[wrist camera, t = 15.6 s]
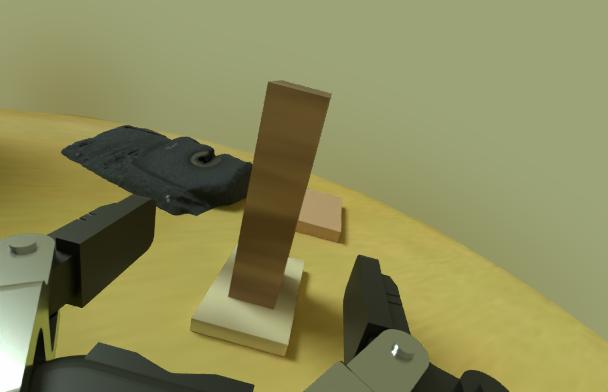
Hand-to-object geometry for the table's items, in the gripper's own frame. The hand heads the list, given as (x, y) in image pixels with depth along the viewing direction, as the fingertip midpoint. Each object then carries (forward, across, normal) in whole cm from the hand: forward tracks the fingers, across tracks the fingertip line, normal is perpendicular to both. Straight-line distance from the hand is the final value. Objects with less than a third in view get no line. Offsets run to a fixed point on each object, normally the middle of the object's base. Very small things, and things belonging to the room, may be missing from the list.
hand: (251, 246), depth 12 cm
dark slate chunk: (+26, +17, +10) cm, 32 cm away
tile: (+19, -2, +9) cm, 21 cm away
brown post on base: (+8, 0, +9) cm, 12 cm away
